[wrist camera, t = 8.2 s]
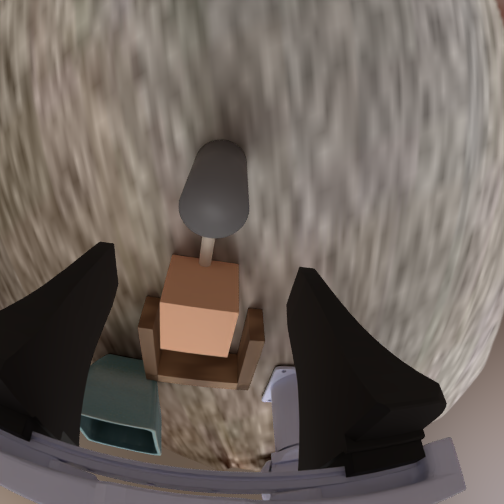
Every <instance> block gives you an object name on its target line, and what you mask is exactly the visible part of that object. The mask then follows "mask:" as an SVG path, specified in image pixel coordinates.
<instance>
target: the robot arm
mask: <svg viewBox="0 0 504 504" xmlns="http://www.w3.org/2000/svg"><path fill="white" fill-rule="evenodd" d="M117 287H118V276H117V268H116V259H115V249H114V244H113V243H106V242H99V243H98V244H96V245H95V246H94V247H92V248H91V249H90V250H88V251H87V252H86V253H85V254H83V255H82V256H81V257H80V258H78V259H77V260H76V261H75V262H73V263H72V264H71V265H70V266H68V267H67V268H66V269H65V270H63V271H62V272H61V273H59V274H58V275H57V276H55V277H54V278H53V279H51V280H50V281H49V282H47V283H46V284H44V285H43V286H42V287H40V288H39V289H37V290H36V291H34V292H32V293H31V294H29V295H28V296H26V297H24V298H23V299H21V300H19V301H17V302H15V303H14V304H12V305H10V306H8V307H6V308H4V309H2V310H0V485H1V486H3V487H5V488H7V489H8V490H10V491H12V492H14V493H16V494H18V495H20V496H22V497H25V498H27V499H29V500H31V501H33V502H35V503H38V504H437V503H439V502H441V501H444V500H446V499H448V498H450V497H452V496H455V495H457V494H459V493H461V492H463V491H465V490H466V485H465V482H464V478H463V474H462V471H461V467H460V464H459V460H458V457H457V454H456V451H455V447H454V444H453V441H452V438H451V437H448V438H444V439H441V440H438V441H434V442H431V443H428V444H426V445H424V446H423V445H422V442H421V439H423V438H424V437H425V434H424V431H423V429H424V428H425V427H426V426H427V425H429V424H430V423H431V422H432V421H434V420H435V419H436V418H437V417H438V416H440V415H441V414H442V413H443V411H444V410H445V408H446V404H447V403H446V400H445V398H444V395H443V393H442V390H441V388H440V385H439V383H437V382H435V381H433V380H432V379H430V378H428V377H426V376H424V375H423V374H421V373H419V372H418V371H416V370H414V369H413V368H412V367H410V366H409V365H407V364H406V363H404V362H403V361H401V360H400V359H399V358H397V357H396V356H395V355H393V354H392V353H391V352H390V351H388V350H387V349H386V348H385V347H383V346H382V345H381V344H380V343H379V342H378V341H377V340H376V339H375V338H373V337H372V336H371V335H370V334H369V333H368V332H367V331H366V330H365V329H364V328H363V327H362V326H361V325H360V324H359V323H358V322H357V320H356V319H355V318H354V317H353V316H352V315H351V314H350V313H349V312H348V310H347V309H346V308H345V307H344V306H343V304H342V303H341V302H340V301H339V299H338V298H337V297H336V296H335V294H334V293H333V292H332V291H331V289H330V288H329V287H328V285H327V284H326V283H325V282H324V280H323V279H322V278H321V276H320V275H319V274H318V273H317V271H316V270H315V269H313V268H305V267H299V270H298V273H297V276H296V278H295V281H294V284H293V287H292V290H291V293H290V296H289V299H288V302H287V304H286V305H287V325H288V332H289V338H290V343H291V348H292V354H293V359H294V365H295V367H289V366H278V367H276V368H275V369H274V371H273V373H272V376H271V378H270V380H269V383H268V385H267V387H266V389H265V392H264V394H263V396H262V401H263V402H272V413H273V426H274V438H275V451H276V452H274V453H271V458H272V460H269V461H267V462H266V463H265V465H264V466H263V468H262V470H261V472H228V471H210V470H198V469H187V468H179V467H172V466H164V465H158V464H152V463H146V462H140V461H135V460H130V459H125V458H120V457H116V456H112V455H108V454H103V453H99V452H95V451H92V450H88V449H84V448H81V447H79V434H80V422H81V413H82V406H83V399H84V393H85V387H86V382H87V377H88V373H89V368H90V364H91V360H92V357H93V354H94V350H95V348H96V345H97V343H98V340H99V337H100V335H101V332H102V330H103V327H104V325H105V322H106V320H107V317H108V315H109V313H110V310H111V308H112V305H113V302H114V298H115V295H116V291H117ZM83 470H84V471H83ZM86 471H88V472H91V473H95V474H98V475H103V476H106V477H110V478H114V479H119V480H123V481H128V482H133V483H138V484H143V485H149V486H155V487H162V488H168V489H177V490H185V491H194V492H208V493H226V494H262V498H263V500H250V499H244V498H230V497H229V498H228V497H212V496H198V495H187V494H178V493H170V492H164V491H157V490H151V489H145V488H139V487H134V486H130V485H124V484H119V483H114V482H106V481H99V480H98V479H97V477H96V476H95V475H94V474H91V473H88V472H86Z"/></svg>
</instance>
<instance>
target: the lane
mask: <svg viewBox="0 0 504 504" xmlns="http://www.w3.org/2000/svg"><path fill="white" fill-rule="evenodd" d="M138 333H139V340H140V346H141V352H142V358H143V364H144V369H145V375H146V379H148V380H154V381H161V382H168V383H176V384H184V385H192V386H202V387H212V388H224V389H237V390H248V389H249V387H250V384H251V381H252V378H253V375H254V372H255V369H256V366H257V364H258V361H259V358H260V355H261V352H262V349H263V346H264V343H265V336H264V324H263V312H262V309H252V308H248V312H247V316H246V320H245V325H244V329H243V333H242V337H241V341H240V345H239V349H238V353H237V354H230V353H228V357H218V356H210V355H202V354H194V353H186V352H179V351H173V350H166V349H160V298H157V297H149V296H147V297H146V300H145V304H144V307H143V310H142V314H141V317H140V321H139V324H138Z"/></svg>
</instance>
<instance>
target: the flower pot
mask: <svg viewBox="0 0 504 504" xmlns="http://www.w3.org/2000/svg"><path fill="white" fill-rule="evenodd" d="M80 431H81V432H82V433H83V435H84V436H85V437H86V438H87V439H88V440H90V441H93V442H97V443H101V444H105V445H109V446H113V447H117V448H122V449H127V450H131V451H136V452H141V453H146V454H152V455H161V410H160V403H159V396H158V386H157V381H154V380H148V379H146V375H145V369H144V364H143V360H139V359H133V358H127V357H122V356H117V355H112V354H107V355H106V356H104V357H102V358H100V359H99V360H97V361H96V362H95V363H93V364H92V365H91V366H90V368H89V373H88V377H87V382H86V387H85V393H84V399H83V406H82V413H81V422H80Z"/></svg>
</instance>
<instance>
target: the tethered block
mask: <svg viewBox="0 0 504 504" xmlns="http://www.w3.org/2000/svg"><path fill="white" fill-rule="evenodd" d="M179 213H180V216H181V218H182V220H183V222H184V224H185V225H186V226H187V227H188V228H189V229H190V230H191V231H193V232H194V233H196V234H198V235H200V236H202V242H201V250H200V257H199V258H193V257H186V256H179V255H173V254H172V258H171V262H170V265H169V269H168V273H167V276H166V280H165V284H164V288H163V291H162V295H161V299H160V349H166V350H173V351H179V352H186V353H194V354H202V355H210V356H218V357H228V353H229V349H230V345H231V341H232V337H233V334H234V330H235V326H236V322H237V318H238V314H239V264H235V263H228V262H221V261H214V260H212V255H213V249H214V243H215V238H223V237H227V236H230V235H232V234H234V233H235V232H237V231H238V230H239V229H240V228H241V227H242V226H243V225H244V223H245V222H246V220H247V218H248V214H249V195H248V178H247V162H246V157H245V154H244V152H243V151H242V149H241V148H240V147H239V146H238V145H236V144H235V143H233V142H230V141H227V140H214V141H211V142H209V143H207V144H205V145H204V146H203V147H202V148H201V149H200V150H199V152H198V154H197V156H196V159H195V161H194V164H193V166H192V168H191V171H190V174H189V176H188V179H187V181H186V184H185V186H184V189H183V192H182V194H181V197H180V200H179Z"/></svg>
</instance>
